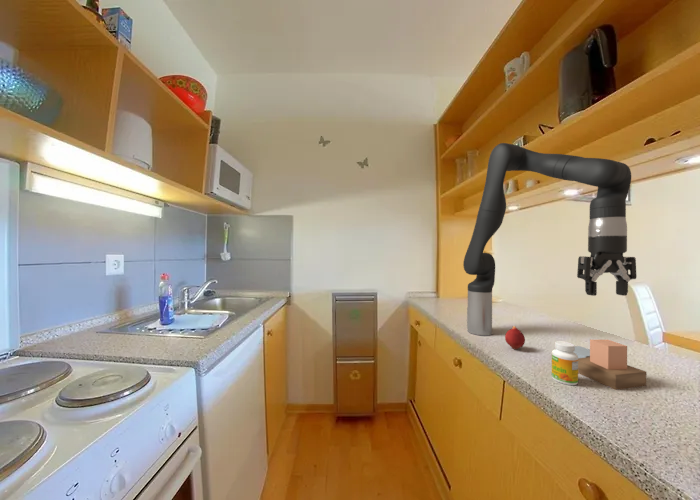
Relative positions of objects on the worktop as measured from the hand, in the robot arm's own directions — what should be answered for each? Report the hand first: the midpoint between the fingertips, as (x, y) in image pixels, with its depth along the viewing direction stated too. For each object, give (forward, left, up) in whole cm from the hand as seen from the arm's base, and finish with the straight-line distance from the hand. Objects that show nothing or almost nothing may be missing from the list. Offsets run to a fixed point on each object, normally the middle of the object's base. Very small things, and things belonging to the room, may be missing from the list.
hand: (606, 295), depth 71 cm
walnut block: (+1, 0, -23) cm, 23 cm away
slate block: (-9, +2, -22) cm, 24 cm away
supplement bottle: (+1, -13, -22) cm, 26 cm away
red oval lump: (-20, -11, -22) cm, 32 cm away
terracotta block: (+1, 0, -19) cm, 19 cm away
